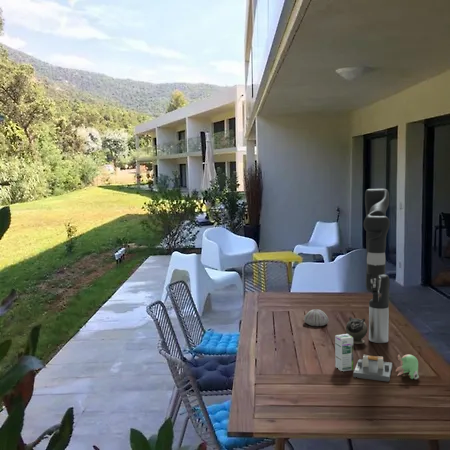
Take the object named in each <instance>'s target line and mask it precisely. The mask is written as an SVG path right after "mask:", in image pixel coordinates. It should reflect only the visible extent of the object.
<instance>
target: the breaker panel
mask: <svg viewBox="0 0 450 450" xmlns="http://www.w3.org/2000/svg"><path fill="white" fill-rule="evenodd" d="M392 369H393V362H389V361H388V362H387V361H383V369H380V368H378V360H371V359H368V367H363V358H359V359H358V360H357V363H356V365H355V368H354V369H353V372H352V373H353V374H352V376H353V378H356V377H357V378H359V379H364V380H365V379H366V380H374V381H380V382H381V381H382V382H390V379H391V375H392V374H391V373H392Z"/></svg>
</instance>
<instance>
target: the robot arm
mask: <svg viewBox="0 0 450 450" xmlns="http://www.w3.org/2000/svg"><path fill="white" fill-rule="evenodd" d="M389 204H390V192H389V190H388V189H386V188H368V189H366V190H365V193H364V205H365V207H364V208H365V218H364V220H363V228H364V230H365V231H366V233H365V234H366V235H365V240H366V241H365V242H366V243H365V246H366V274H365V275H366V276H365V287H366V291H367V292H369V293H372V298H371V299H370V300H369V301H368V340H369V341H370V342H372V343H376V344H385V343H388V342H389V313H390V312H389V309H390V307H389V303H390V283H391V282H390V276H389V275H388V274H386V248H387V236H388V232H389V229H390V224H391V221H390V219H389V217H388V216H386V215H387V214H386V213H387V210H388V208H389ZM379 294H381V295H380V296H379Z"/></svg>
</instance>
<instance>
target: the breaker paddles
mask: <svg viewBox="0 0 450 450" xmlns="http://www.w3.org/2000/svg"><path fill="white" fill-rule="evenodd" d="M362 359H363V367H368V360H372V361H378V368H380V369H383V362H384V356H379V355H378V356H375V355H368V354H362Z"/></svg>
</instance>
